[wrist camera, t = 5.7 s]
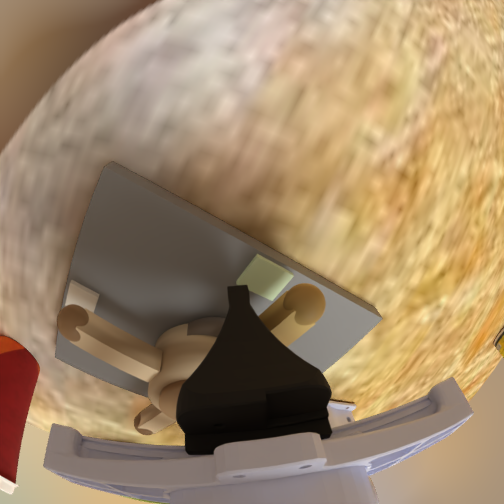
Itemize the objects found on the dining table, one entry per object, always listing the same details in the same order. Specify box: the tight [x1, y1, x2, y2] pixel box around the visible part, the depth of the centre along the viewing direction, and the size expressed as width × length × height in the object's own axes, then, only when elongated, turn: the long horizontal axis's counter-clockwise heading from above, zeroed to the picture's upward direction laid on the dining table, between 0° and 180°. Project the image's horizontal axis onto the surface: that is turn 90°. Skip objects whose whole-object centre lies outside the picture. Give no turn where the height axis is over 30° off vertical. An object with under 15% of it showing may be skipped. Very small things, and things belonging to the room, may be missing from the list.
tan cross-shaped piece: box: [57, 283, 326, 435], centre depth 16 cm, size 19×19×4 cm
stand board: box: [55, 162, 383, 398], centre depth 18 cm, size 20×17×2 cm
